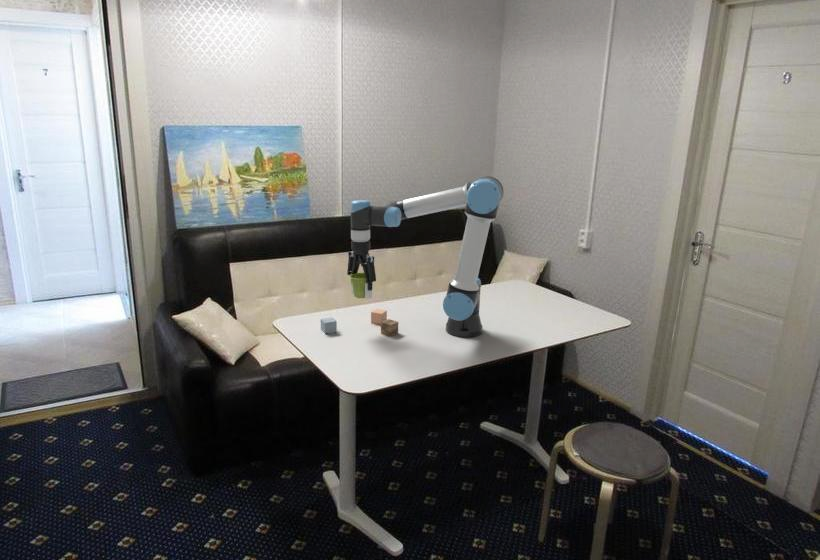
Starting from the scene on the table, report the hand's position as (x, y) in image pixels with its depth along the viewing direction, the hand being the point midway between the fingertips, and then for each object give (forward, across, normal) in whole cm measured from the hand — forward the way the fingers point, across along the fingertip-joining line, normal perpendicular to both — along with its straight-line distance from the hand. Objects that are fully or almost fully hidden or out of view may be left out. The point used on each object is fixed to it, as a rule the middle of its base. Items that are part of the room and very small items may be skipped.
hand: (361, 295), depth 235 cm
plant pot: (+1, 0, 0) cm, 1 cm away
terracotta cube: (+15, +4, -12) cm, 20 cm away
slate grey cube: (+15, +8, +11) cm, 20 cm away
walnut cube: (+16, -9, -7) cm, 19 cm away
